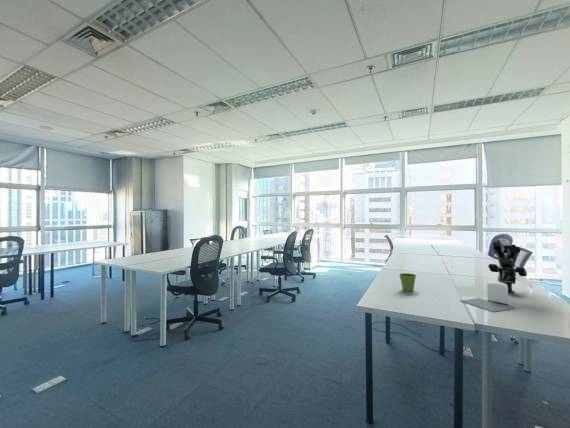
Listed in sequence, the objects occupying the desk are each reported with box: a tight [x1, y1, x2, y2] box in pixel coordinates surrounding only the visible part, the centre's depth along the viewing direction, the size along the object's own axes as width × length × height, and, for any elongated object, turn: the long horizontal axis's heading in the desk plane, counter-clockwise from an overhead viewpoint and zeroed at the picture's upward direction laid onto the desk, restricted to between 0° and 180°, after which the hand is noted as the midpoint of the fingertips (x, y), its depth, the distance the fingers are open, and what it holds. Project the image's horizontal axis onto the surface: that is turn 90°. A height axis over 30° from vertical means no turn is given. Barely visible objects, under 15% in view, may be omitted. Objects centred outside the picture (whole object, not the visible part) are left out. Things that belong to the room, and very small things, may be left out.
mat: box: [460, 297, 515, 313], centre depth 158 cm, size 16×20×1 cm
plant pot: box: [398, 272, 417, 292], centre depth 191 cm, size 12×12×11 cm
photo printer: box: [486, 281, 509, 305], centre depth 162 cm, size 10×4×12 cm, turn 39°
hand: (503, 280), depth 166 cm, fingers closed
